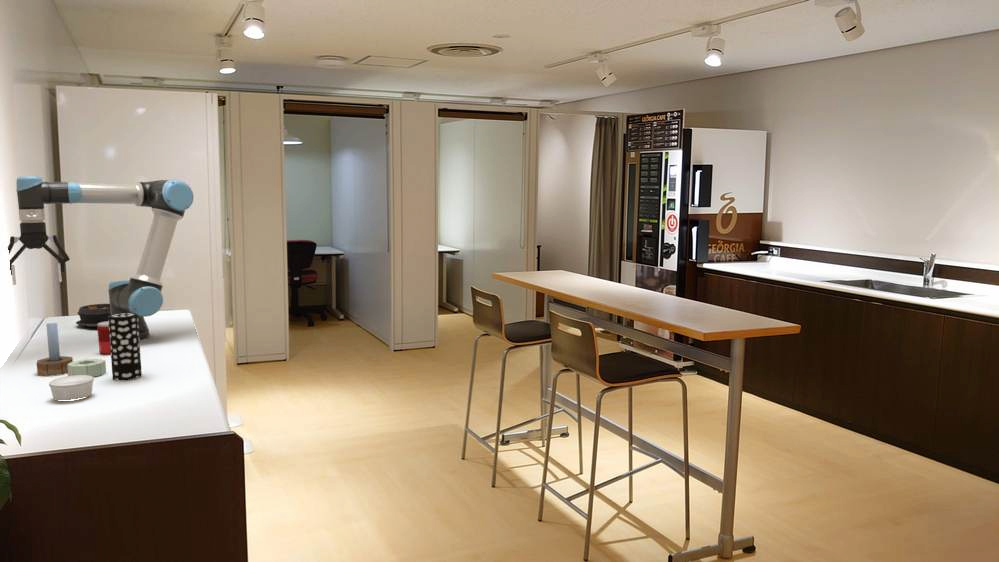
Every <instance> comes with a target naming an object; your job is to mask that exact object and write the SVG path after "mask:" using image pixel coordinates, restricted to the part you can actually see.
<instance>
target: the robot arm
mask: <svg viewBox="0 0 999 562" xmlns="http://www.w3.org/2000/svg"><path fill="white" fill-rule="evenodd" d="M16 196H17V204H18V218H19V219H18V220H19V221H20V223H19V228H20V229H19V230H20V235H19V236H15V235H14V236H13V235H12V236H10V238H9V244H8V246H7V248H8V250H9V255H10V254H11V251H12V250H13V247H14V245H15V244H17V242H18V241H19V242H20V243H22V246H21V247H20V248H19V249H18V250H17V252H15V254H13V256H12V257H11V259H9V261H10V270H11V275H10V276H12V285H13V286H14V285H17V279H16V269H15V268H16V266H15V264H13V263H14V262H15V261H16V260H17V259H18V258H19V256H20V255H21V254H23V252H24V251H25V250H26V249H29V250H33V249H36V250H39V249H44V250H46V252H48V253H49V254H50V255H51V256H52V257H54V258H55V260H57V261H58V263H57V271H58V272H57V273H58V282H59V283H62V282H63V279H62V273H65V270H66V269H65V263H66V262H69V261H70V256H69V255H68V253H67V252H66V251H65V249H64V248H63V246H62V245H61V244H60V242H59V240H58V236H57V235H56V234H53V235H47V225H46V224H47V223H46V222H45V221H46V214H45V213H46V212H45V204H46V205H50V204H53V205H54V204H55V205H56V204H58V205H59V204H63V205H64V204H70V205H72V204H111V205H113V204H116V205H117V204H119V205H121V204H124V205H135V206H136V207H142V208H143V207H144V208H151V211H152V213H153V218H152V222H151V225H150V228H149V231H148V234H147V237H146V241H145V244H144V247H143V251H142V254H141V257H140V261H139V264H138V268H137V270H136V274H133V275H132V276H131V277H130V279H127V280H126V279H125V280H117V281H111V282H110V283H108V289H107V290H108V291H107V292H108V298H109V304H110V314H111V315H112V314H119V313H137V314H138V327H139V340H142V339H141V338H143V339H146V337H147V338H148V336H149V337H150V329H149V327H148V325H147V322H146V320H145V318H144V317H151V316H153V315H155V314H157V313H158V312H159V311H160V310H161V308H162V307H163V304H164V296H163V293H162V290H163V285H164V284H163V283H162V281H161V278H162V274H163V271H164V267H165V264H166V262H167V261H166V260H167V257H168V255H169V252H170V251H169V250H170V247H171V244H172V241H173V237H174V234H175V232H176V227H177V225H178V221H180V220H182V219H184V215H185V213H186V210H188V209H189V208H190V207H191V206H192V205H193V202H194V193H193V190H192V188H191V186H190V185H189V184H187V183H186V182H185V181H183V180H178V179H159V180H152V181H136V182H134V184H131V183H126V184H125V183H93V182H91V183H90V182H89V183H88V182H77V181H76V182H75V181H74V182H73V181H43V179H42V177H41V176H31V175H29V176H27V175H26V176H23V175H22V176H18V177H17V178H16ZM48 240H50V241H51V242H53V243H54V245H55V246H56V248H57V249H58V251H59V252H60V253H61V255H62V257H63V258H62V257H61V256H60V255H59V254H58V253H57V252H55V251H54V250H53V249H52V248H51V247H50V246H49V245H48V244H47V242H48Z"/></svg>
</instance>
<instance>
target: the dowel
mask: <svg viewBox="0 0 999 562" xmlns="http://www.w3.org/2000/svg"><path fill="white" fill-rule="evenodd" d="M58 330H59V327H58V323H57V322H49V323H46V337H47V346H48V347H47V349H48V357H49V361H50V362H54V361H60V356H61V353H60V345H59V344H60V342H59V331H58Z"/></svg>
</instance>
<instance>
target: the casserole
mask: <svg viewBox="0 0 999 562" xmlns="http://www.w3.org/2000/svg"><path fill="white" fill-rule="evenodd" d="M76 314H77V315H78V316H79V318H80V320H78V321H76V322H75V324H76V325H79V326H84V327H85V326H86V328H92V327H97V325H98V323H101V322H107V321H108V316H109V315H111V314H110V303H98V304H97V303H95V304H88V305H83V306H81V307H79V309H78V312H77V313H76ZM97 328H98V327H97Z"/></svg>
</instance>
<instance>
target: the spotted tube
mask: <svg viewBox="0 0 999 562" xmlns="http://www.w3.org/2000/svg"><path fill="white" fill-rule="evenodd" d="M108 322H109V336H110V350H111V355H110V363H111V375H112V379H113V380H114V381H118V380H124V381H129V380H128V379H132V380H134V379H133V378H137V379H139V378H141V377H142V376H143V374H142V373H143V372H142V359H141V345H140V343H141V341H140V339H139V327H138V314H137V313H119V314H112V315H109V316H108ZM141 375H142V376H141ZM140 376H141V377H140ZM138 377H139V378H138Z"/></svg>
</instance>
